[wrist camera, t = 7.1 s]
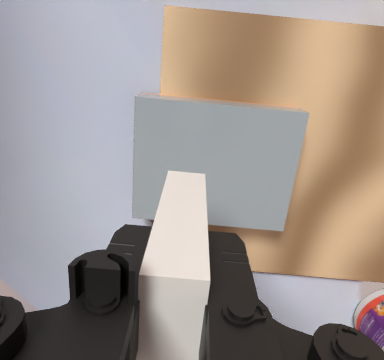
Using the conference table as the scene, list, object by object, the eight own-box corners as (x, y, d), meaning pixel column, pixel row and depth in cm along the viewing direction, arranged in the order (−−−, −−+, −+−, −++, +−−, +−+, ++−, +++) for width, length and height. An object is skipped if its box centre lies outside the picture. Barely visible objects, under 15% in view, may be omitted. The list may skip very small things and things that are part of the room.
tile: (132, 217, 18) (283, 231, 19) (134, 96, 16) (309, 112, 16) (138, 203, 20) (275, 215, 20) (141, 92, 18) (298, 107, 18)
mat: (152, 259, 22) (151, 262, 22) (165, 6, 17) (164, 5, 16) (455, 285, 23) (459, 289, 22) (571, 45, 17) (580, 45, 16)
